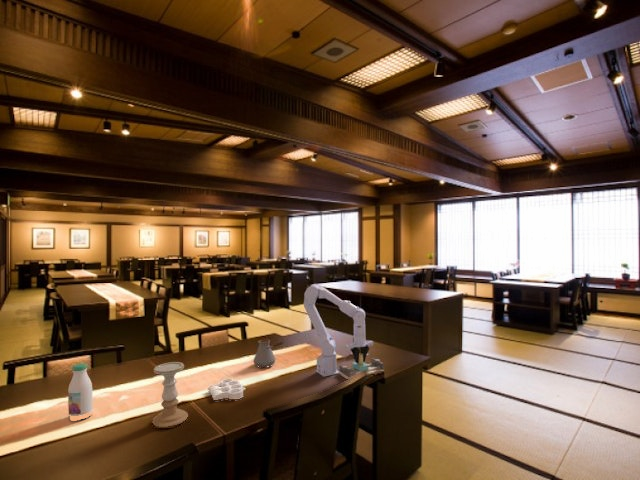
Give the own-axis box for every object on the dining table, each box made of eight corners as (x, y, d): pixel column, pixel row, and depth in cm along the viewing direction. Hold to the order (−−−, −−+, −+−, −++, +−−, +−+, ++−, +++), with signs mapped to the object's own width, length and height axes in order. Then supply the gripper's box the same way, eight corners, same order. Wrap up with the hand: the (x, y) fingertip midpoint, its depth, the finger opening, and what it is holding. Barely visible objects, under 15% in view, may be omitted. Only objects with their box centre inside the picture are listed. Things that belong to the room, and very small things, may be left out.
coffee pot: (249, 366, 190) (248, 337, 190) (265, 360, 199) (265, 333, 199) (276, 375, 176) (276, 344, 176) (293, 368, 185) (292, 339, 185)
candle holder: (146, 421, 134) (145, 367, 134) (179, 409, 143) (178, 358, 143) (159, 433, 126) (158, 375, 125) (193, 420, 134) (192, 366, 134)
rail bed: (347, 380, 169) (347, 370, 168) (338, 374, 177) (337, 364, 176) (385, 372, 178) (384, 362, 178) (374, 366, 186) (374, 357, 186)
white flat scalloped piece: (206, 390, 162) (238, 383, 169) (216, 406, 146) (251, 397, 154) (205, 382, 162) (238, 376, 169) (215, 397, 146) (250, 389, 154)
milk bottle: (88, 410, 144) (87, 360, 144) (96, 416, 139) (94, 364, 139) (65, 418, 138) (64, 365, 138) (72, 424, 133) (71, 370, 133)
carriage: (359, 371, 173) (359, 357, 173) (352, 366, 179) (351, 353, 179) (368, 369, 175) (368, 355, 175) (360, 364, 181) (360, 351, 181)
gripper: (351, 338, 170) (351, 367, 170) (376, 333, 177) (377, 361, 177) (343, 334, 176) (344, 362, 176) (368, 330, 183) (368, 357, 183)
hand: (360, 362), depth 177 cm, fingers closed on carriage, 3 cm apart
